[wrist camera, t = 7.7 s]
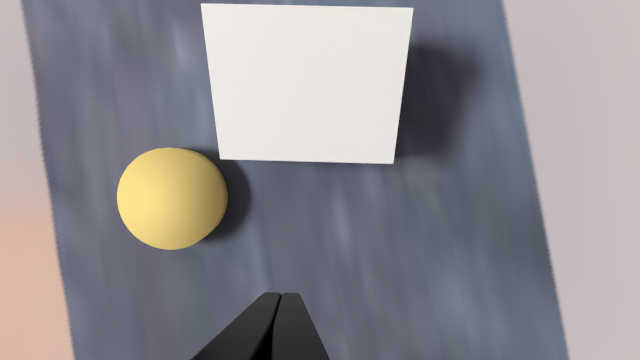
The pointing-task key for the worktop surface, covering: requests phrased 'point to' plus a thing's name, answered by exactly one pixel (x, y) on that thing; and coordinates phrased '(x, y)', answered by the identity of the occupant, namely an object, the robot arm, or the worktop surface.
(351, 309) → the worktop surface
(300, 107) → the lid
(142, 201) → the yellow rounded disc
